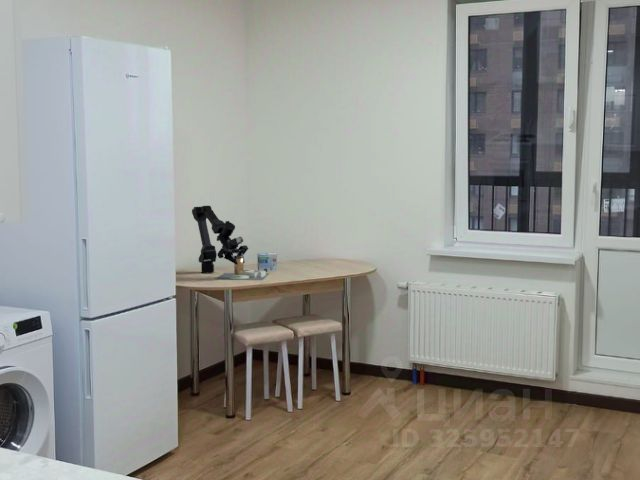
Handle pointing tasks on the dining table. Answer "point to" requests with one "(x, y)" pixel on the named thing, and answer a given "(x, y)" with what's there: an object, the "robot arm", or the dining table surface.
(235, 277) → the sage pad
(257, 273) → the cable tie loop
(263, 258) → the light bulb box
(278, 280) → the dining table surface
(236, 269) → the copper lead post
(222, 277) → the charcoal mat
